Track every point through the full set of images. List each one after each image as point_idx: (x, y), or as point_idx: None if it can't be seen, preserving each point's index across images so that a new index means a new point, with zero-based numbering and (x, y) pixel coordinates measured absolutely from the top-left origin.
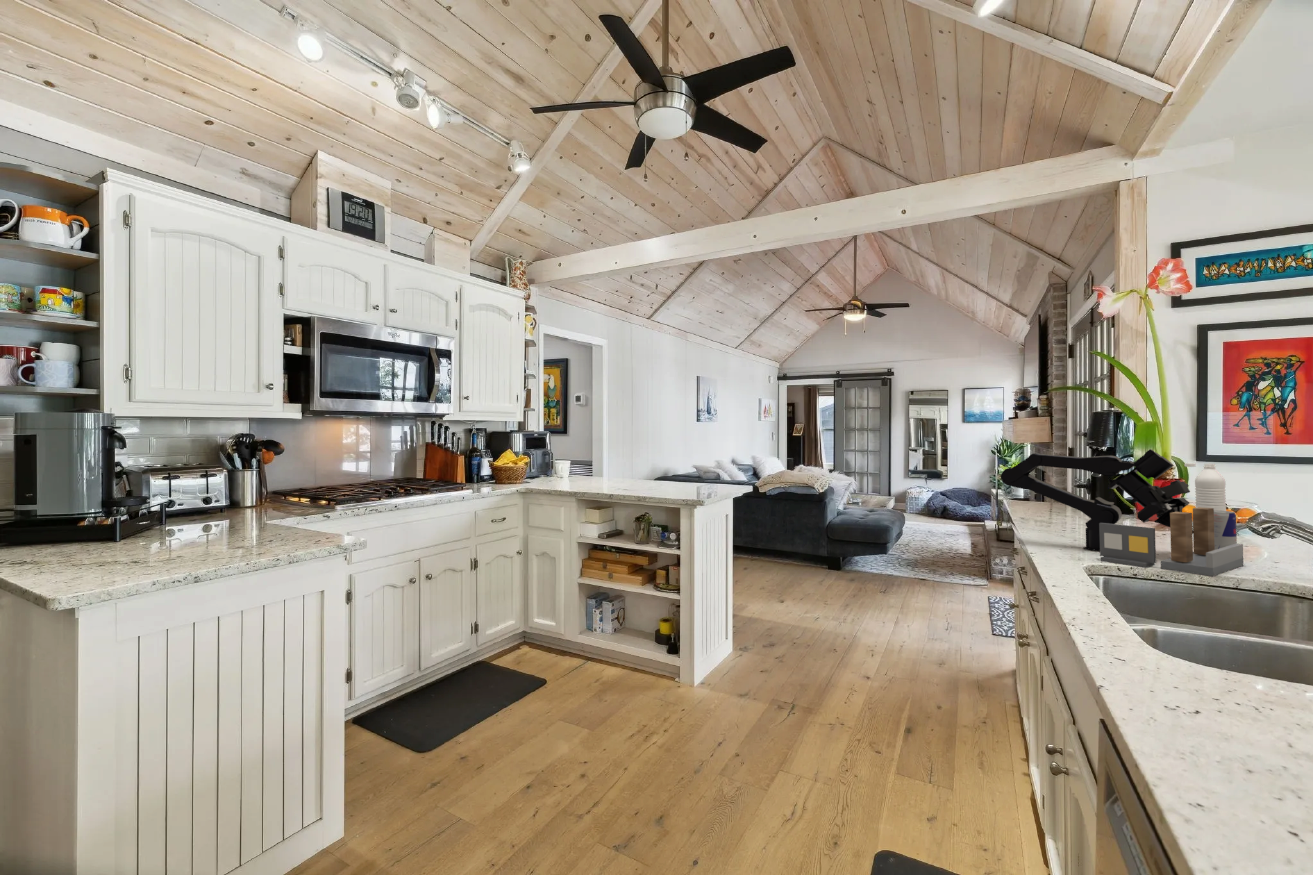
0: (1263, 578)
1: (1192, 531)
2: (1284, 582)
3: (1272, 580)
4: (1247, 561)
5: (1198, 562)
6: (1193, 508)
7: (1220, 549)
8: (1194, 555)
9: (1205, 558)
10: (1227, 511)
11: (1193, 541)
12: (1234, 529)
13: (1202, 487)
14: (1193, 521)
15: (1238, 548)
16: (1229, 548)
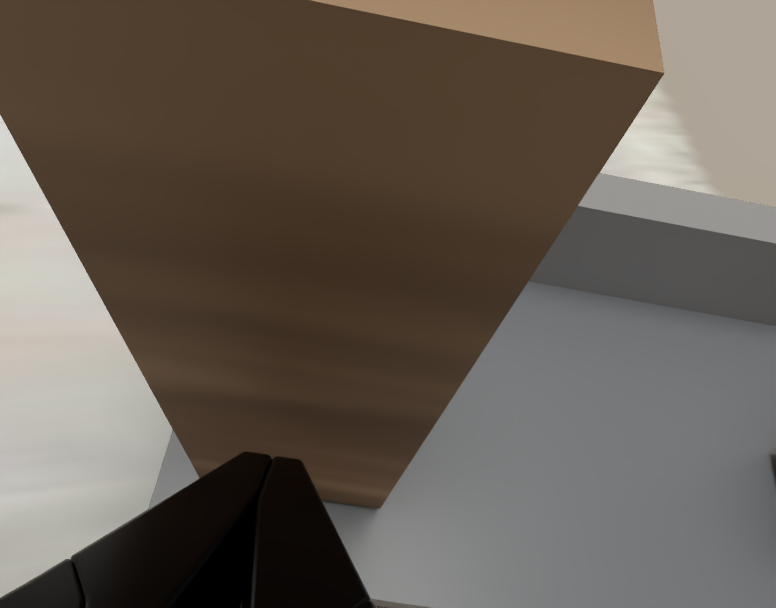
0: (633, 155)
1: (293, 463)
2: (653, 96)
3: (650, 128)
4: (12, 223)
5: (764, 414)
6: (641, 52)
7: (740, 219)
8: (415, 499)
9: (516, 398)
10: None
11: (399, 473)
12: None
13: None
14: (482, 337)
15: None
16: (599, 175)
